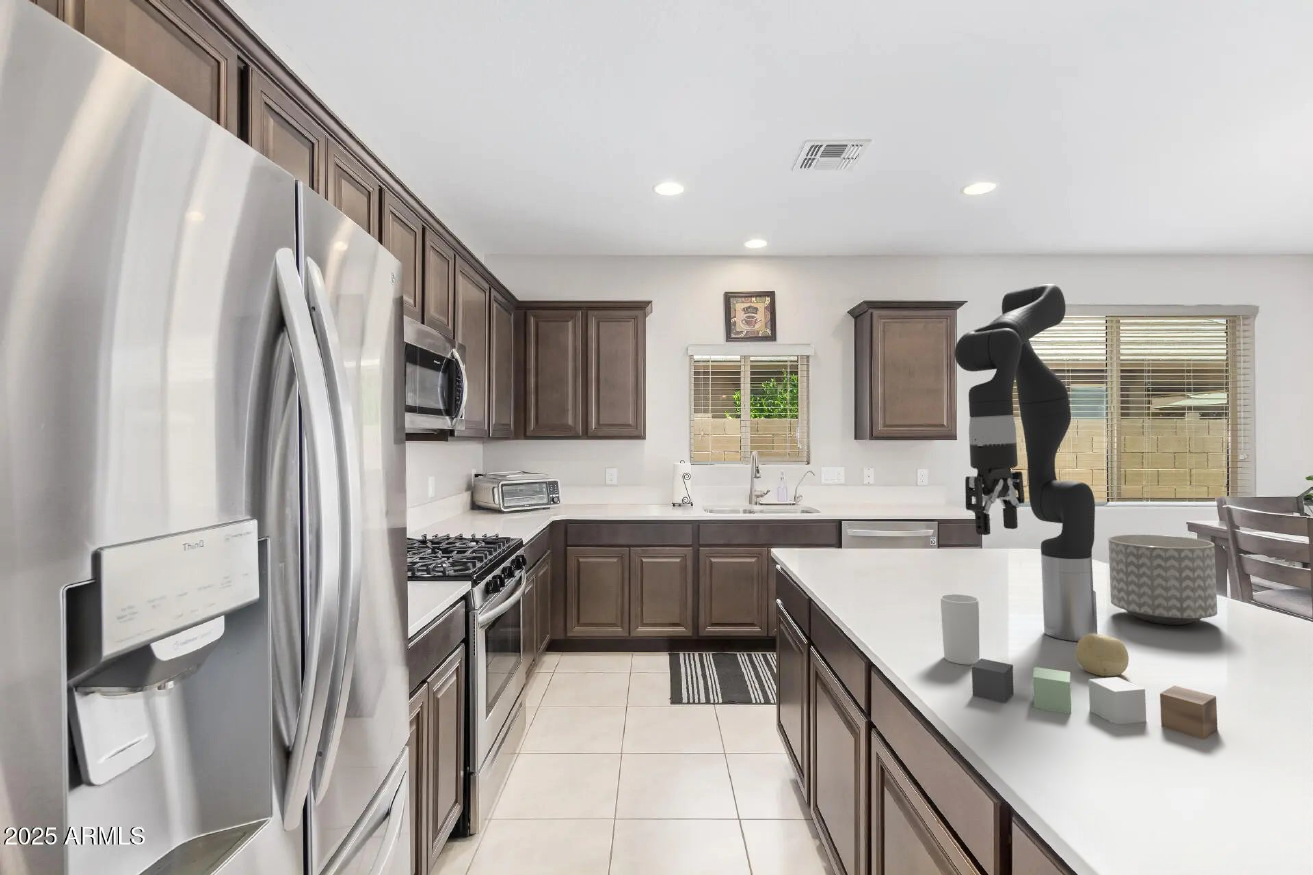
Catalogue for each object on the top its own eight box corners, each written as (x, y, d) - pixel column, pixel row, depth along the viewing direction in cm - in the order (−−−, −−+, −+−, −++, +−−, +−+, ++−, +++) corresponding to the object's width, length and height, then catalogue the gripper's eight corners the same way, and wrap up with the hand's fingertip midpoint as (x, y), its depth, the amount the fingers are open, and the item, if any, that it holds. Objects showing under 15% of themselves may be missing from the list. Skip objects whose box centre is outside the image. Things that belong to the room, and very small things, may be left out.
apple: (1069, 672, 115) (1064, 629, 119) (1095, 682, 118) (1089, 641, 122) (1115, 670, 109) (1108, 625, 112) (1142, 681, 112) (1134, 637, 115)
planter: (1208, 614, 148) (1205, 536, 148) (1226, 637, 132) (1223, 549, 132) (1108, 605, 158) (1105, 532, 158) (1114, 625, 142) (1111, 544, 142)
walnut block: (1175, 718, 96) (1174, 685, 96) (1217, 730, 92) (1216, 696, 92) (1161, 727, 94) (1159, 693, 94) (1203, 739, 90) (1202, 704, 90)
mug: (974, 668, 119) (972, 604, 120) (937, 660, 124) (935, 599, 124) (990, 653, 127) (987, 593, 127) (954, 647, 131) (952, 589, 132)
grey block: (1118, 708, 101) (1117, 676, 101) (1146, 722, 96) (1145, 688, 96) (1089, 710, 100) (1088, 679, 100) (1116, 724, 95) (1114, 691, 95)
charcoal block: (982, 686, 111) (981, 658, 111) (1013, 694, 107) (1012, 664, 107) (972, 695, 107) (971, 666, 107) (1005, 703, 104) (1004, 673, 104)
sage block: (1035, 696, 106) (1034, 666, 106) (1071, 702, 103) (1070, 672, 103) (1033, 707, 102) (1032, 676, 102) (1071, 714, 99) (1069, 682, 99)
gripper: (995, 440, 121) (999, 525, 121) (949, 444, 114) (953, 534, 114) (1035, 439, 114) (1040, 528, 114) (989, 443, 107) (994, 538, 107)
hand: (997, 531), depth 114 cm, fingers open, 8 cm apart
